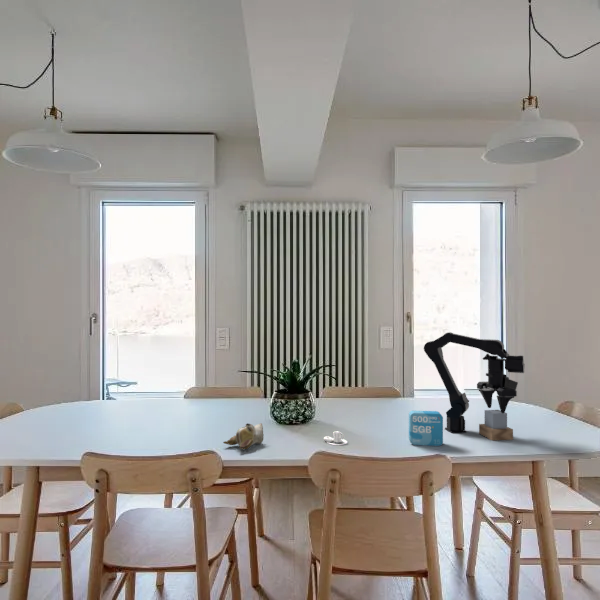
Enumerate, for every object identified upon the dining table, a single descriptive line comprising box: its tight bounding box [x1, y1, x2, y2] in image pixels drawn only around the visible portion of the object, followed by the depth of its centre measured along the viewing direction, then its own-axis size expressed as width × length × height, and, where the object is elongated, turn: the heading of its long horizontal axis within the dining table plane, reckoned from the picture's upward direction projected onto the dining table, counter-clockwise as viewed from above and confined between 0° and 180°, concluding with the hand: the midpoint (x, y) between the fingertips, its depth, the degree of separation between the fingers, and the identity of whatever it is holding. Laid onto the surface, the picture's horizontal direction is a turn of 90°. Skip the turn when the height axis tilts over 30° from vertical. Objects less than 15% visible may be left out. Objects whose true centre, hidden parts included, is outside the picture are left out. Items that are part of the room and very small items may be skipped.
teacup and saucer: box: [323, 430, 348, 446], centre depth 171 cm, size 9×8×4 cm
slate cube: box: [484, 409, 508, 429], centre depth 179 cm, size 6×6×6 cm
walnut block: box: [478, 423, 514, 441], centre depth 179 cm, size 9×9×4 cm
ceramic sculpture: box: [223, 423, 265, 450], centre depth 165 cm, size 11×9×15 cm
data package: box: [408, 410, 444, 447], centre depth 169 cm, size 12×4×12 cm, turn 84°
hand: (496, 410), depth 179 cm, fingers open, 9 cm apart
